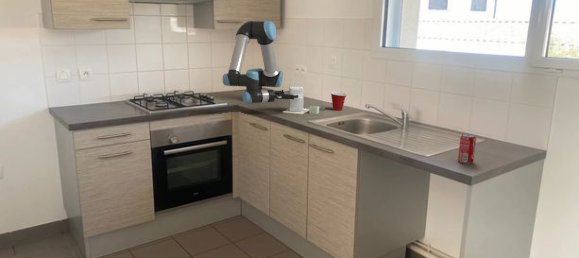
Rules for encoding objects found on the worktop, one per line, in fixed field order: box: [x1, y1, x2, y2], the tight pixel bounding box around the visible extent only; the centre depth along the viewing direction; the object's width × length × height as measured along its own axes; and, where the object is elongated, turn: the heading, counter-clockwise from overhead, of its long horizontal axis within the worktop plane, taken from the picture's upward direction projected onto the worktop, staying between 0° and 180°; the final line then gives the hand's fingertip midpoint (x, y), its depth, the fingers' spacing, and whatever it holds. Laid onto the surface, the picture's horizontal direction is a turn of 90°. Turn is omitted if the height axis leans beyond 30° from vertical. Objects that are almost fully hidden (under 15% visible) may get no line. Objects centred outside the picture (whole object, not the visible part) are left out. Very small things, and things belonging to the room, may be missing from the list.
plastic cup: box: [330, 91, 347, 112], centre depth 291 cm, size 11×11×12 cm
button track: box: [319, 106, 326, 112], centre depth 285 cm, size 14×8×2 cm, turn 160°
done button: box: [308, 105, 320, 115], centre depth 281 cm, size 5×5×4 cm
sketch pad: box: [282, 107, 309, 115], centre depth 287 cm, size 16×13×1 cm
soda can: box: [457, 133, 477, 165], centre depth 188 cm, size 6×6×12 cm
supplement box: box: [288, 85, 305, 111], centre depth 285 cm, size 9×9×15 cm
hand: (297, 94), depth 284 cm, fingers open, 13 cm apart
